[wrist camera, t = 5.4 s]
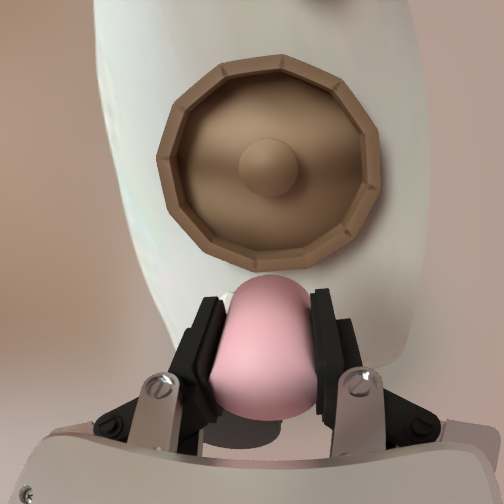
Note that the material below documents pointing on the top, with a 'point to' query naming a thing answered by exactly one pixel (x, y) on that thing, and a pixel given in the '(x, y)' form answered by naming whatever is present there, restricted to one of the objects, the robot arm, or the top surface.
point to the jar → (239, 423)
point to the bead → (266, 352)
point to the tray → (269, 163)
